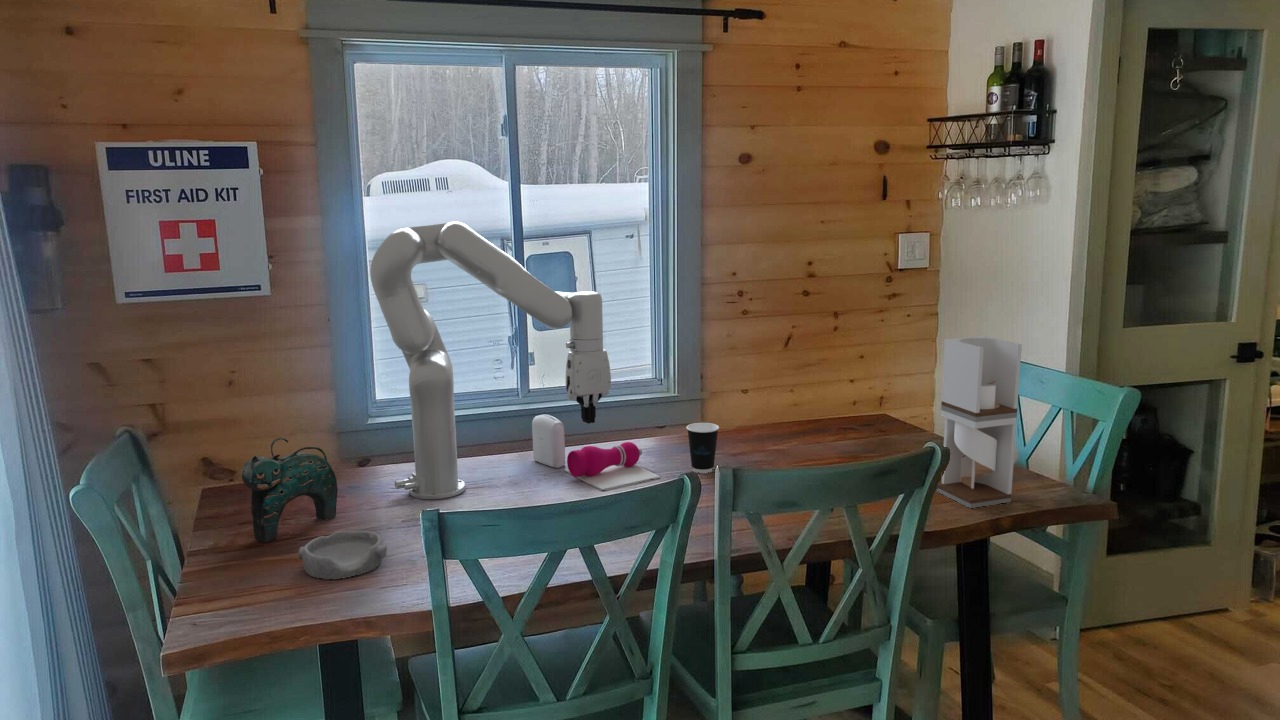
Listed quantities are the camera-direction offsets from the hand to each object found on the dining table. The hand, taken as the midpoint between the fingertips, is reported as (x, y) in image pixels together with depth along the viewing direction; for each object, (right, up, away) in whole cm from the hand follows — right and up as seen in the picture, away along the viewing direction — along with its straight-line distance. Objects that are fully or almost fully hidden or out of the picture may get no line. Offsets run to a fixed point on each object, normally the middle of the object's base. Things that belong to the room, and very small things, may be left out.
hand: (588, 421), depth 216 cm
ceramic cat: (-59, -21, -26) cm, 68 cm away
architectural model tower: (+86, -16, -13) cm, 88 cm away
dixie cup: (+27, -13, +8) cm, 31 cm away
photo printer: (-11, -12, +16) cm, 22 cm away
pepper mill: (-4, -10, +1) cm, 11 cm away
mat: (+5, -13, +6) cm, 15 cm away
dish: (-43, -24, -45) cm, 67 cm away
